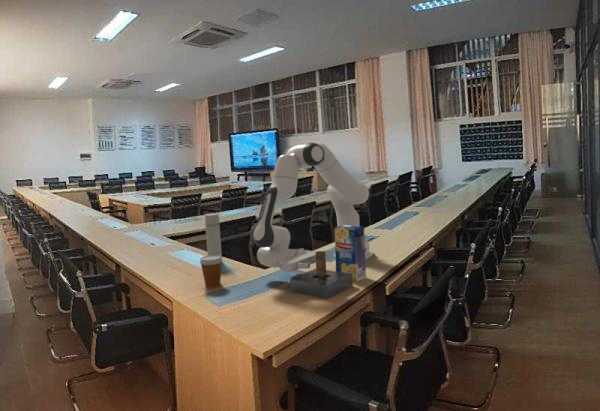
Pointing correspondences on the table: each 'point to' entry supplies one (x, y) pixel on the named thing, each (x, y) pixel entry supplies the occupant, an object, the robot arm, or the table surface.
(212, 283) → the disposable coffee cup
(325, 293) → the socket block
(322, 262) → the walnut pin
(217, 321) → the table surface
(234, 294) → the table surface
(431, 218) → the table surface
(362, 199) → the robot arm
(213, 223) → the water bottle
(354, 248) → the beverage box
